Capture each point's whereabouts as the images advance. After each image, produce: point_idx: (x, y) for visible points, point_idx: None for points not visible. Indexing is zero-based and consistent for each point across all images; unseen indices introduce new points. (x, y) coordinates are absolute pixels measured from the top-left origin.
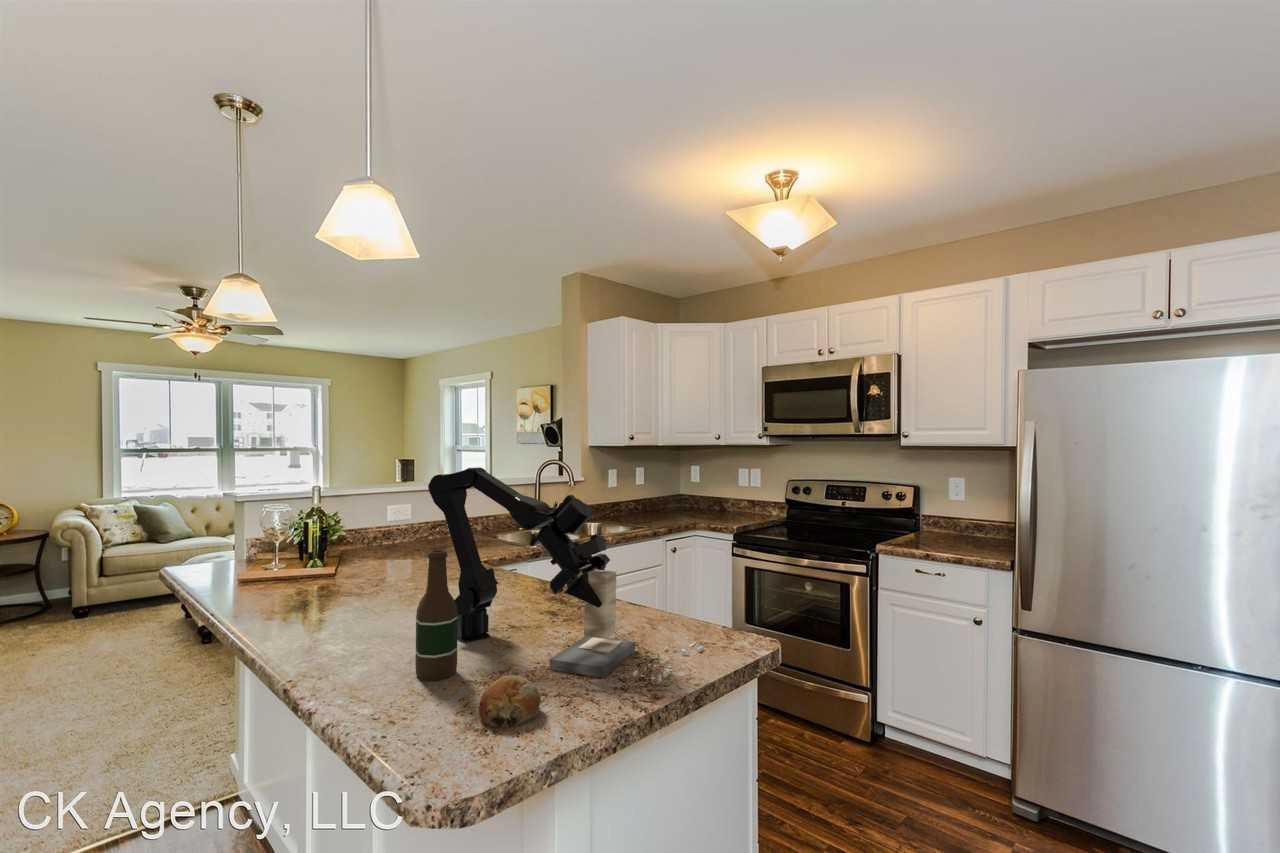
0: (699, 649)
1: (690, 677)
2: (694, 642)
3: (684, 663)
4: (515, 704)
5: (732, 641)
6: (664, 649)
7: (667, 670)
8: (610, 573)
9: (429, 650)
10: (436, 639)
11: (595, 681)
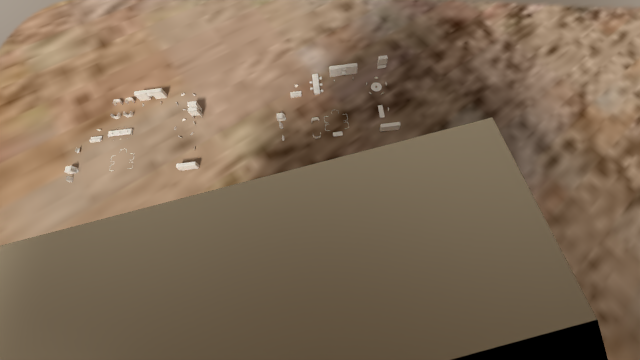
0: (156, 90)
1: (320, 32)
2: (94, 139)
3: (252, 82)
4: None
5: (48, 74)
6: (196, 163)
7: (339, 66)
8: (207, 220)
9: None
10: None
11: None
